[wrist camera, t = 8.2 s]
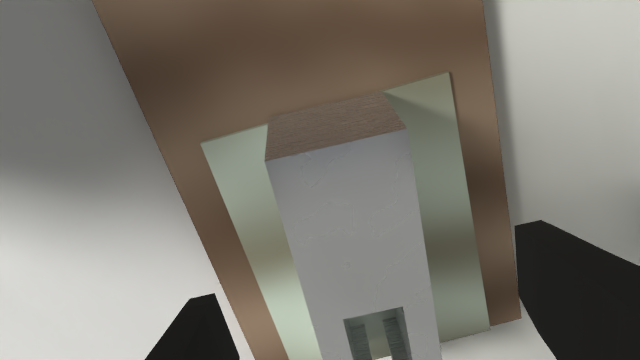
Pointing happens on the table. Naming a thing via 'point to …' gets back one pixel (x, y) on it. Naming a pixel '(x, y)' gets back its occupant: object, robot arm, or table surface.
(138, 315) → the table surface
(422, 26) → the stand
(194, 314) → the robot arm
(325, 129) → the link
